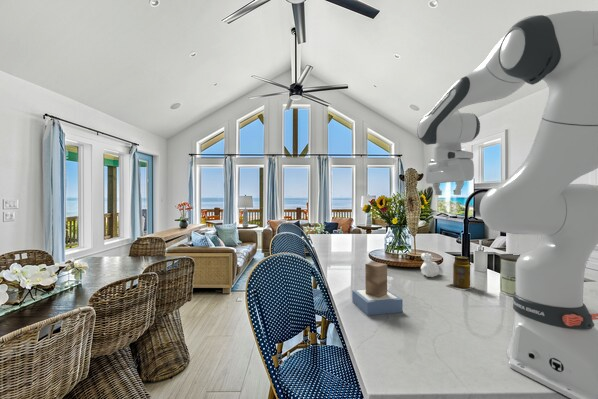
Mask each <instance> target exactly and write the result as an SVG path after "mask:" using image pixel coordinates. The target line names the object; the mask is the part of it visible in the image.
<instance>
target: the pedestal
mask: <svg viewBox="0 0 598 399" xmlns="http://www.w3.org/2000/svg"><path fill="white" fill-rule="evenodd" d="M351 291H352V292H351V297H352V298H351V301H352V303H353V304H354V305H356V307H358V308H359V309H360V310H361V312H363V313H364V314H366V316H373V315H383V314H384V315H387V314H396V313H402V312H403V310H404V309H403V305H404V304H403V302H404V301H403V299H402V298H401V297H400V296H397V294H394V293H393V292H391V291H390V290H388V289H387V295H384V296H382V297H379V298H377V297H374V296H371V295H368V294H366V288H362V289H352V290H351Z"/></svg>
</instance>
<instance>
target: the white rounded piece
mask: <svg viewBox="0 0 598 399" xmlns="http://www.w3.org/2000/svg"><path fill="white" fill-rule="evenodd" d="M420 258H421V260H423V263H422V265H421V266H420V271H421V274H422V275H424V276H426V278H428V277H430V278H433V277H437V276H438V274H439V272H440V267H439V265H438V263H437V262H435V261H432V260H433V259H434V257H433V256H432V253H429V252H423V253H421V255H420Z"/></svg>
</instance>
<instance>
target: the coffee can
mask: <svg viewBox="0 0 598 399" xmlns="http://www.w3.org/2000/svg"><path fill="white" fill-rule="evenodd" d="M513 254H514V253H502V254H499V260H500V261H499V264H500V265H499V270H500V272H499V273H500V280H499V281H500V283H499V286H500V294H503V295H505V296H508V297H512V298H513V293H514V292H516V261H517V259H518V258H519V257H520V255H521V254H519V255H513Z"/></svg>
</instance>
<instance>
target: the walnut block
mask: <svg viewBox="0 0 598 399" xmlns="http://www.w3.org/2000/svg"><path fill="white" fill-rule="evenodd" d="M365 289H366V294H368V295H371V296H374V297H377V298H379V297H382V296H384V295H387V290H388V264H387V263H382V262H378V261H372V262H368V263H365Z"/></svg>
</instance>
